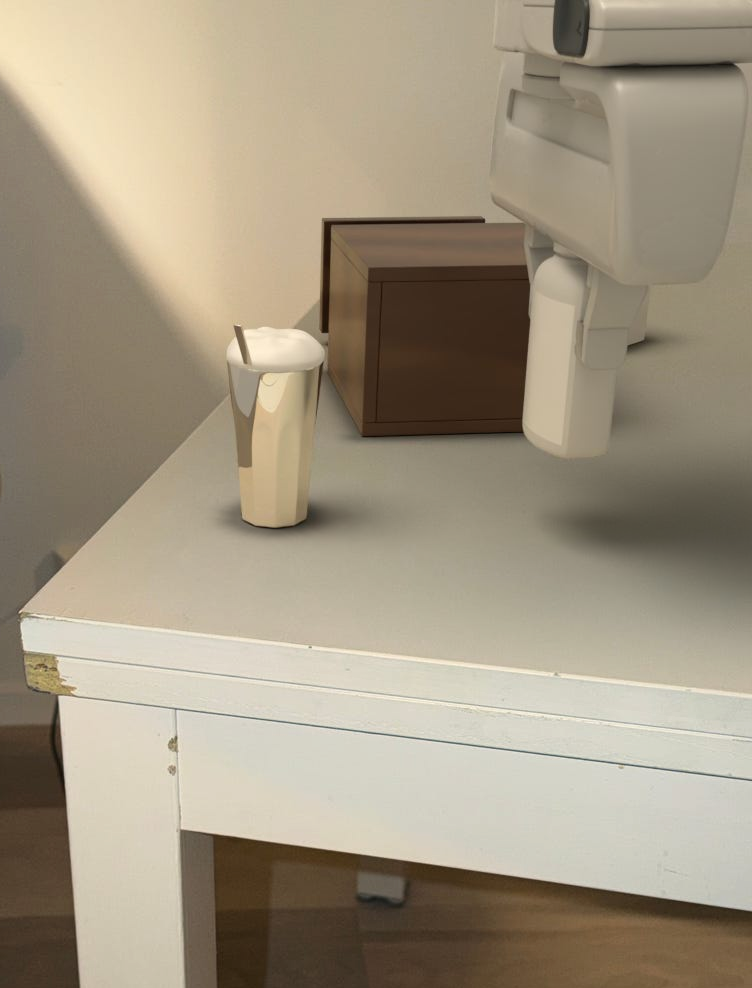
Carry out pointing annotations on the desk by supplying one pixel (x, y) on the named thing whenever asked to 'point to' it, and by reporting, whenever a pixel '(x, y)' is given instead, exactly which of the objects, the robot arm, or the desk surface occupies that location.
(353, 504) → the desk surface
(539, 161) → the robot arm
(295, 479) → the milkshake
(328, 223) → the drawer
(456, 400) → the cabinet
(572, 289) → the eye dropper bottle
